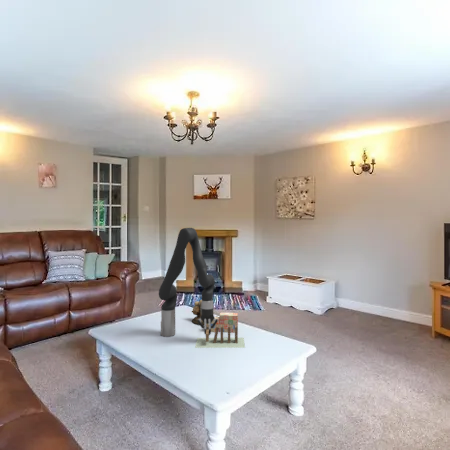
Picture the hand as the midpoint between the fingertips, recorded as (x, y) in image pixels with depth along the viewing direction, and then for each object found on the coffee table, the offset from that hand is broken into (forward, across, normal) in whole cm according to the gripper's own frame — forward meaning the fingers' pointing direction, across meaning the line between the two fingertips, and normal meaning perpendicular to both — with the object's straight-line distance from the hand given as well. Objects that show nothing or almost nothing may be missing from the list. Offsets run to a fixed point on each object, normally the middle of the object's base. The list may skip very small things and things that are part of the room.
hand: (207, 334), depth 203 cm
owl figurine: (+5, -7, +39) cm, 40 cm away
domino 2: (+5, +4, 0) cm, 6 cm away
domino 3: (+5, +9, 0) cm, 10 cm away
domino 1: (0, 0, -6) cm, 6 cm away
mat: (+5, +8, -1) cm, 9 cm away
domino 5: (+5, +18, 0) cm, 18 cm away
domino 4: (+5, +13, 0) cm, 14 cm away
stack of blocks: (+5, +9, +20) cm, 22 cm away
